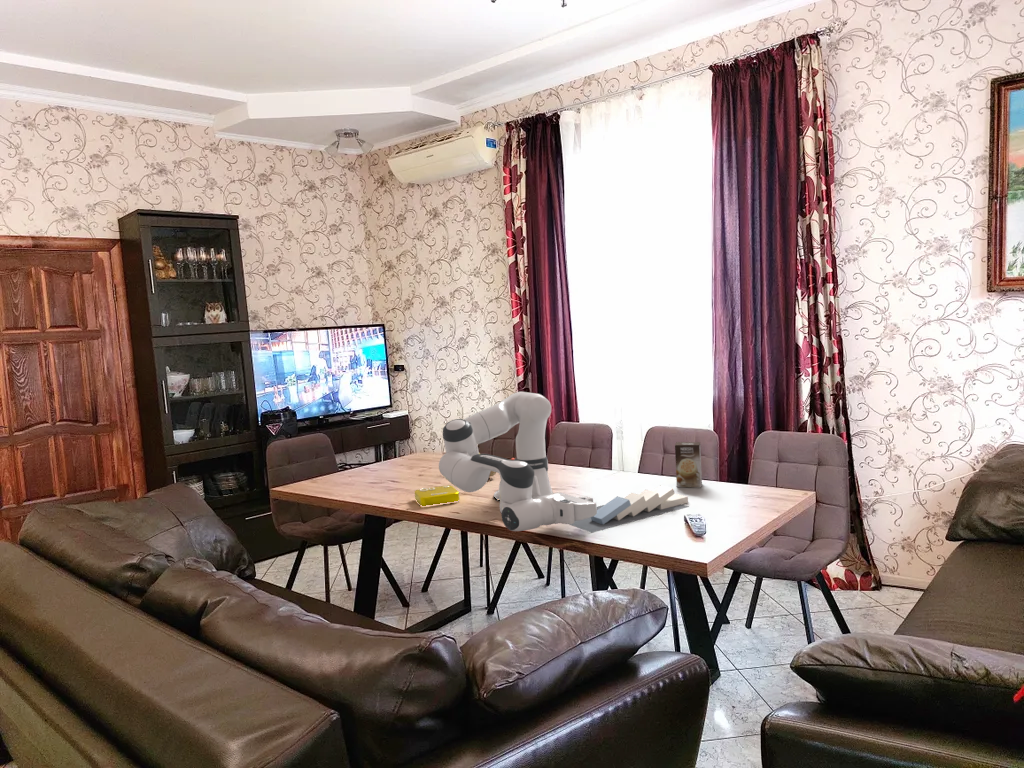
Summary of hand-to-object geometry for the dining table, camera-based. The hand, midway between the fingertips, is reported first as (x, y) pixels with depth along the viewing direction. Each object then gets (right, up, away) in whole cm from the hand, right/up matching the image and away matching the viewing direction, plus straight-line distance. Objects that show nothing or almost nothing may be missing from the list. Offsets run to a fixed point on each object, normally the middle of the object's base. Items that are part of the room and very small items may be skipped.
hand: (590, 499), depth 217 cm
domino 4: (+23, -4, +14) cm, 27 cm away
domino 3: (+18, -4, +11) cm, 22 cm away
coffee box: (+42, -2, +44) cm, 61 cm away
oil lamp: (-37, -5, +84) cm, 92 cm away
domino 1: (+7, -6, +5) cm, 11 cm away
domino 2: (+13, -5, +8) cm, 16 cm away
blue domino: (+2, -7, +2) cm, 7 cm away
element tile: (-53, -9, +50) cm, 73 cm away
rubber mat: (+11, -7, +12) cm, 18 cm away
